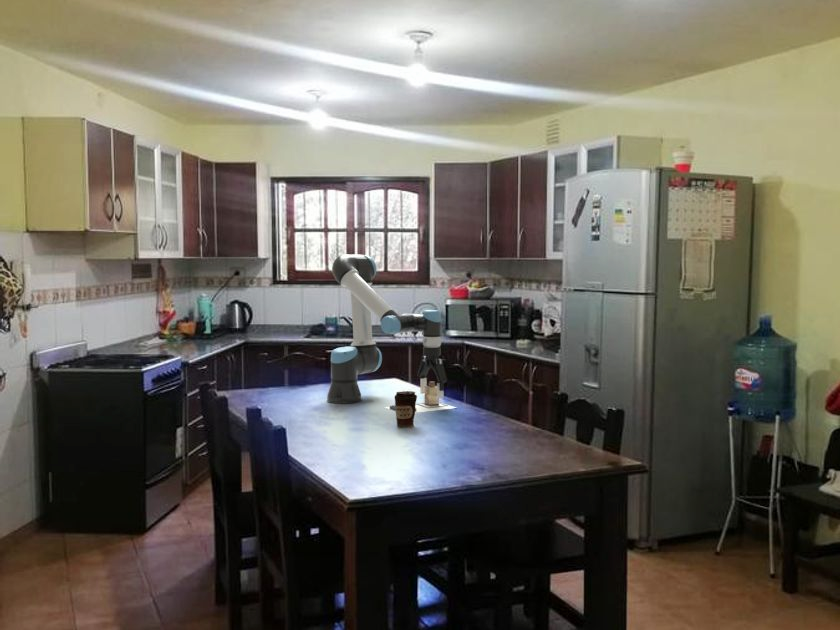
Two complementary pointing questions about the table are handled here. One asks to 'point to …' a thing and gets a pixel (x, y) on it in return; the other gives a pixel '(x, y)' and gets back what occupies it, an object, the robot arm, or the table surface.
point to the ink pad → (394, 408)
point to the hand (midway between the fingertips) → (431, 395)
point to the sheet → (429, 407)
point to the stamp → (431, 395)
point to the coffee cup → (405, 408)
